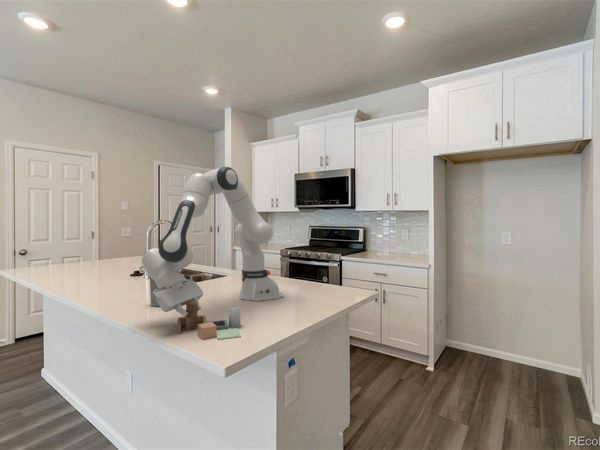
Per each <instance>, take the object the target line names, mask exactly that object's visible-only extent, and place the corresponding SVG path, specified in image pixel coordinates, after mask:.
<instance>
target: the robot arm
mask: <svg viewBox="0 0 600 450" xmlns="http://www.w3.org/2000/svg"><path fill="white" fill-rule="evenodd" d="M221 193H222V194H223V196H224V198H225V201H226V203H227V205H228V207H229V209H230V212H231V213H232V216H233V217H234V218H235V219H236V220H237V221H238V222H239V223H238V224H237V225H236V227H235V229H234V233H235V237H236V239H238V242H239V245H240V248H241V249H240V250H241V256H242V269H241V281H242V282H241V289H240V294H239V298H240V299H241V300H246V301H253V302H261V301H269V300H275V298H276V299H282V298H283V297H284V293H283V292H282V291H280V289H279V284H278V283H277V282H276V281H274V280H273V279H272V278H271V277H270V275H271V271H270V270H267V269H265V254H264V252H263V251H262V248H261V244H265V243H268V242H270V241H271V240H272V238H273V235H274V230H273V227H272V226H271V225H270V224H269V223H268V222H266V221H265V220H264V218H263V217H262V216H261V214H259V212H258V211H257V209H256V207H255V205H254V204H253V202H252V199H251V197H250V195H249V192H248V190H247V189H246V187H245V185H244V184H243V182H242V181H241V179H240V178H239V177H238V175H237V172H236V171H235V170H234V169H233V168H232V167H230V166H222V167H221V166H220V168H215V169H210V170H209V171H207V172H204V173H200V172H196V173H193V174H191V175H190V176H189V178H188V179H187V181H186V183H185V186H184V188H183V191H182V193H181V197H180V201H179V204H178V207H177V209H176V211H175V214H174V217H173V219H172V222H171V224H170V227H169V229H168V231H167V233H166V234H165V236H164V237H163V238H162V239H161V240H160V242H159V244H158V247H153V248H150V249H148V250H147V251H146V252H145V253H144V255H143V256H142V258H141V264H142V266H143V269H144V270H145V272H146V273H147V274H148V276H149V278H150V277H151V278H152V279H153V280H154V281H155V282H156V285H157V287H158V288H159V289H155V290H154V296H155V297H156V300H157V302H158V304H159V306H160V309H161V311H162V312H164V313H168V312H171V311H174V310H175V311H176V312H177V313H178V314H181V315H182V317H186V316H188V314H189V312H188V310H186V308H183V306H186V302H187V301H189V300H197V302H198V311H201V310H202V307H201V306H200V303H199V300H200V299H201V298H202V297H203V296H204V291H203V289H202V288H201V287H200V285H199V284H198V283H197V282H196V281H194V280H193V277H192V275H190V274H183V273H179V272H178V271H180V270H183V269H184V268H186V267H188V266H189V265H190V264H191V263H192V261H193V259H194V253H193V251H192V249H191V248H190V247H189V245H188V242H187V233H188V231H189V228H190V225H191V221H192V220H193V219H194V218H198V217H201V216H202V215H203V214H204V213H205V211H206V209H207V207H208V203H209V200H210V196H212V195H219V194H221ZM281 297H282V298H281ZM159 306H158V307H159Z"/></svg>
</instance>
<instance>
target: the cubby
mask: <svg viewBox="0 0 600 450" xmlns="http://www.w3.org/2000/svg"><path fill="white" fill-rule="evenodd" d="M206 322H207V319H206V314H198V324H202V323H206ZM182 326H186V316H185V317H184V316H179V317H177V327H176V328H177V330H176V331H177V335H180V334H181V329H182Z"/></svg>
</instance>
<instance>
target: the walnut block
mask: <svg viewBox="0 0 600 450" xmlns="http://www.w3.org/2000/svg"><path fill="white" fill-rule="evenodd" d="M198 302H199V301H198ZM198 302H197V300H189V301H187V302H186V305H185V307H186V308H185V310H188V312H189V314H188V316H185V317H186V325H185V327H186V331H193V330H198V315H199V314H198Z"/></svg>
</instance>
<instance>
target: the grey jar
mask: <svg viewBox="0 0 600 450" xmlns="http://www.w3.org/2000/svg"><path fill="white" fill-rule="evenodd" d="M228 326H229V329H233V328H237V327H238V328H241V306H234V305H233V306H230V307H228Z"/></svg>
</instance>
